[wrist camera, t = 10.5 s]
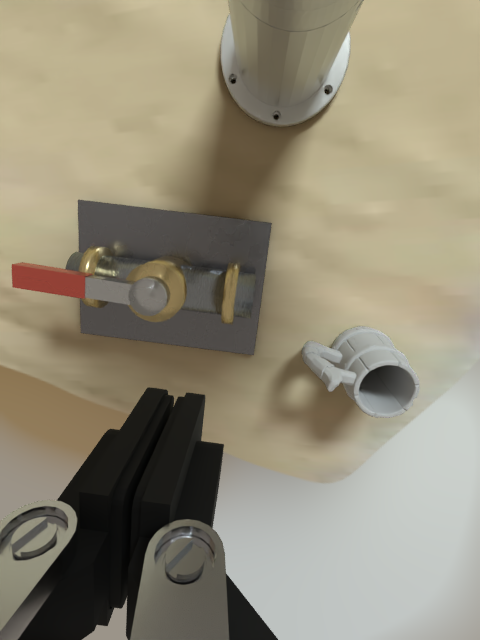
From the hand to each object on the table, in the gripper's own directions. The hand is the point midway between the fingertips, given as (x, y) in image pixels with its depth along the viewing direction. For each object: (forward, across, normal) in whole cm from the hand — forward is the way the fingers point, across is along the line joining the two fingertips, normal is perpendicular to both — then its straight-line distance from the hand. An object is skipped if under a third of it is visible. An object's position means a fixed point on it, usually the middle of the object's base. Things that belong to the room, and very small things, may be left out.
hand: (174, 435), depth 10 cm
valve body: (+32, +8, +2) cm, 33 cm away
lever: (+24, +13, +2) cm, 28 cm away
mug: (+32, -14, +8) cm, 36 cm away
